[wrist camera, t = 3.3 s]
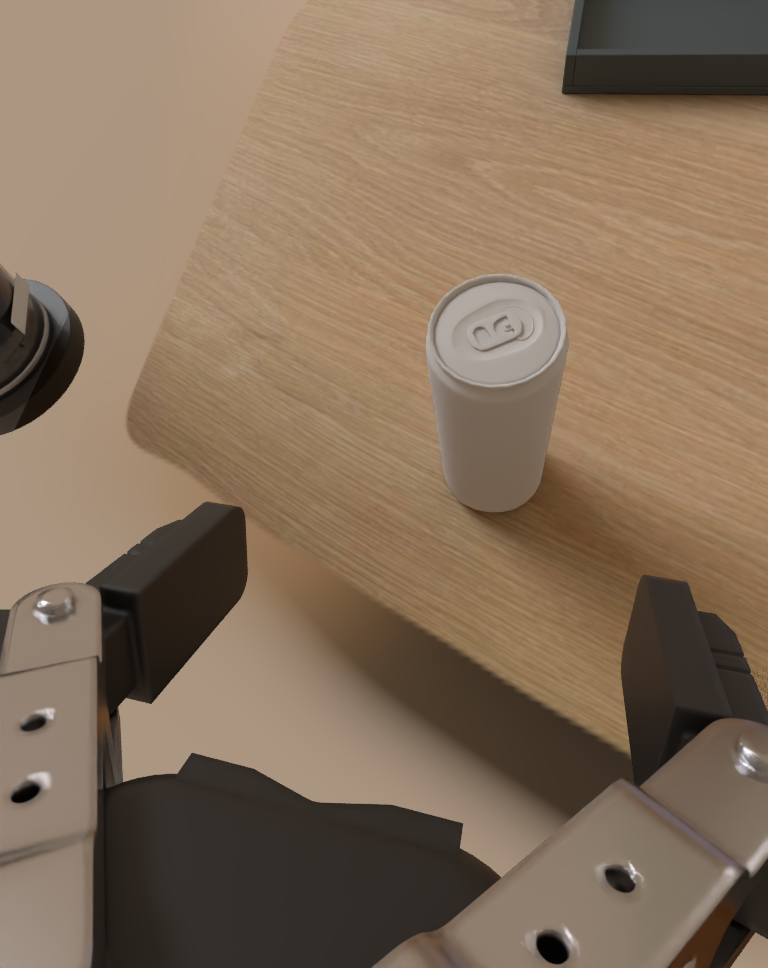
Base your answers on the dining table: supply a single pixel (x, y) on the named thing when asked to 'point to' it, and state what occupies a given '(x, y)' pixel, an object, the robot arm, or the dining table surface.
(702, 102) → the dining table surface
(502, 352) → the beverage can
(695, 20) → the serving tray
